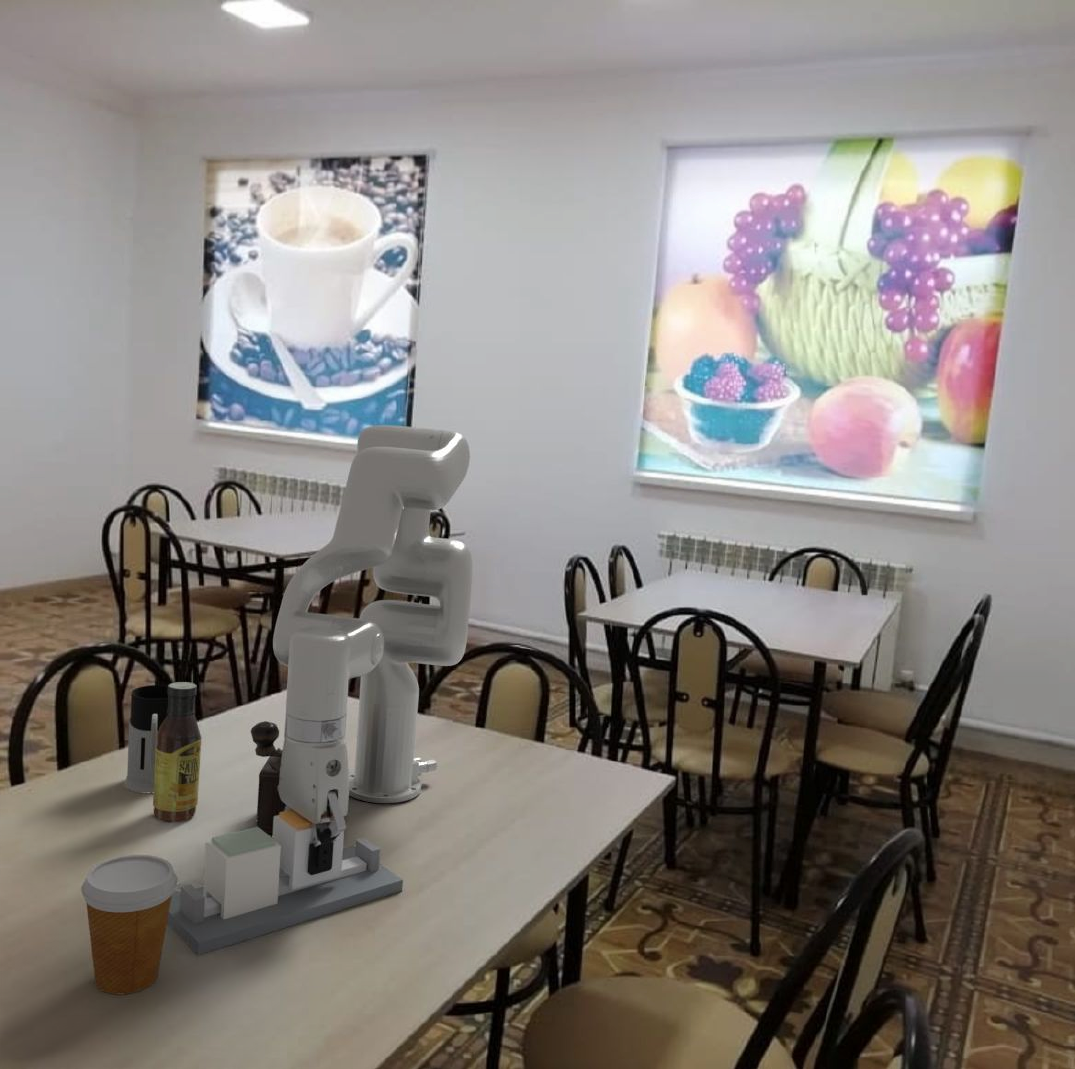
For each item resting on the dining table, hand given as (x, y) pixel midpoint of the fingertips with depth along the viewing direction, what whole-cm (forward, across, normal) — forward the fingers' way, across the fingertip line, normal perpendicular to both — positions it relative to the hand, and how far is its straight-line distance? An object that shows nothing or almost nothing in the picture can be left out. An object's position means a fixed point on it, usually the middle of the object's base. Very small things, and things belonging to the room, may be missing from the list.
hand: (306, 860), depth 130 cm
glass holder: (+5, +42, +3) cm, 42 cm away
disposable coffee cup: (+5, -6, +25) cm, 26 cm away
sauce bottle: (+5, +31, +4) cm, 32 cm away
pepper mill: (+5, +18, -8) cm, 20 cm away
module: (+2, 0, 0) cm, 2 cm away
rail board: (+4, 0, +3) cm, 5 cm away
